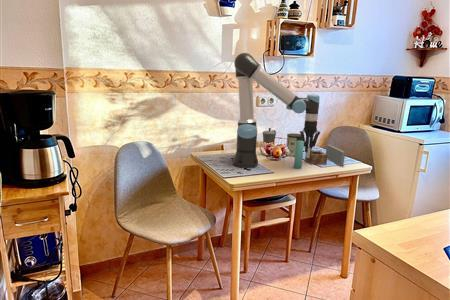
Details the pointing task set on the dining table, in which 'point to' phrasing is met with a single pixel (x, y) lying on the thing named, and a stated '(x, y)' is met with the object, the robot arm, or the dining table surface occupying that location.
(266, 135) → the coffeepot
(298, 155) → the dowel
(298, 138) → the coffee can
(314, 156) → the socket block
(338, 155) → the wall
